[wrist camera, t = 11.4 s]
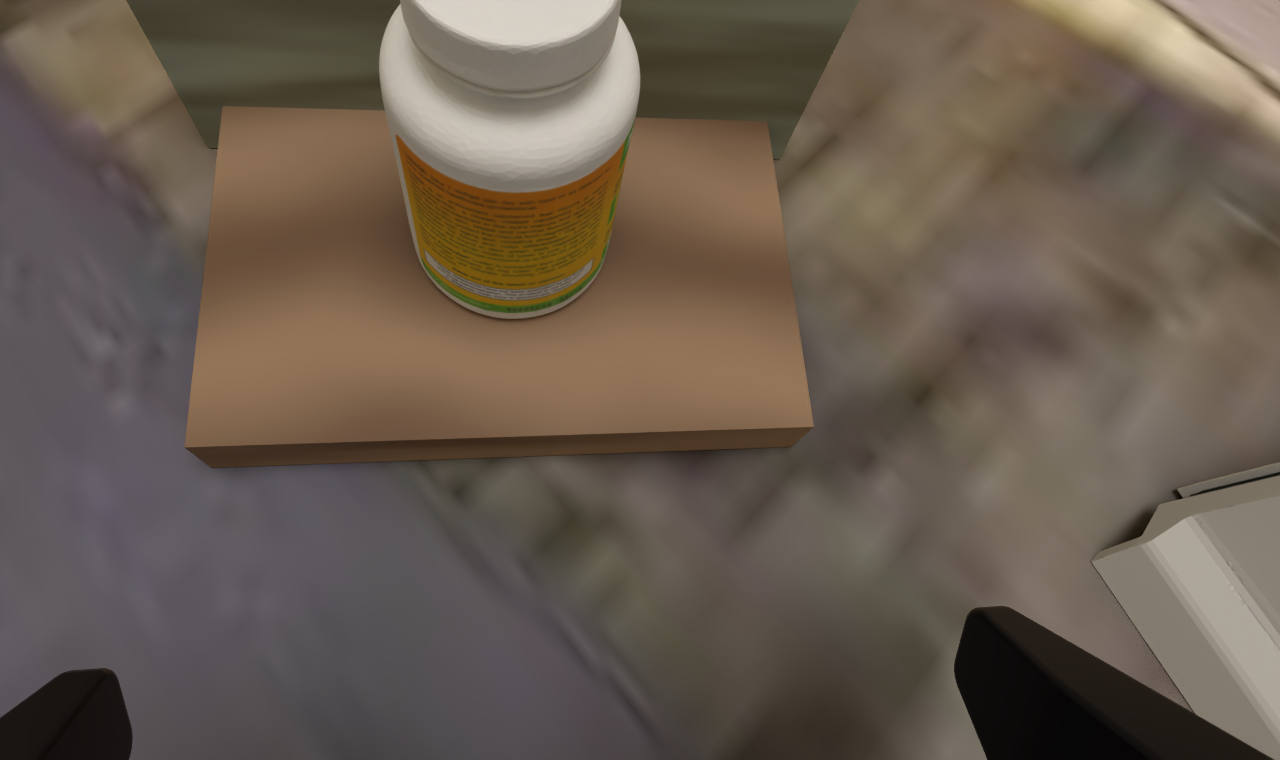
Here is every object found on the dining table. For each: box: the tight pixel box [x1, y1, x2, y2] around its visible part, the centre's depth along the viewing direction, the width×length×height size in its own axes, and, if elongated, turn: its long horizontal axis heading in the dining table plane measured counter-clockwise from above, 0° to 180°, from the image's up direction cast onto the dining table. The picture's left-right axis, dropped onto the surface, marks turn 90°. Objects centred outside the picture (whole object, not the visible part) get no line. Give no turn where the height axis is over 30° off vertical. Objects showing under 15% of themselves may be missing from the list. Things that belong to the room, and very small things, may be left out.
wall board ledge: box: [127, 0, 859, 468], centre depth 22 cm, size 12×18×8 cm, turn 94°
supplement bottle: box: [379, 0, 640, 319], centre depth 19 cm, size 5×5×10 cm
